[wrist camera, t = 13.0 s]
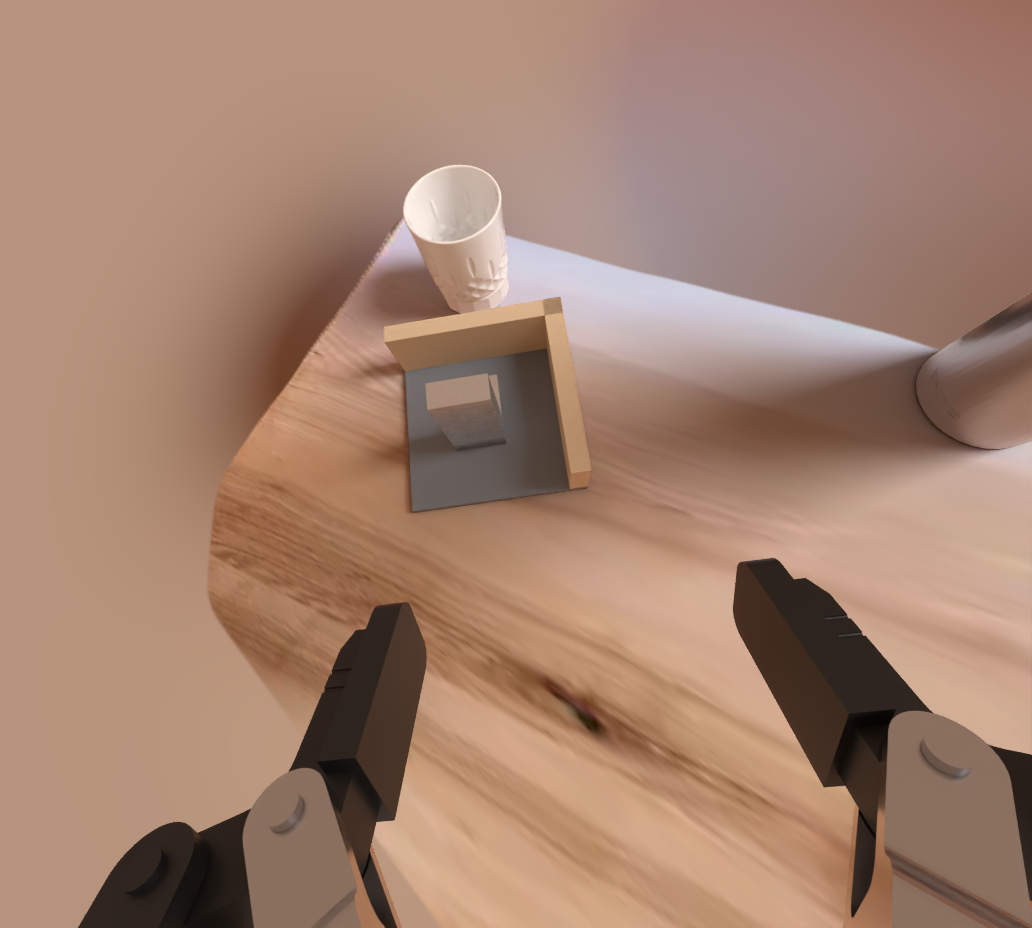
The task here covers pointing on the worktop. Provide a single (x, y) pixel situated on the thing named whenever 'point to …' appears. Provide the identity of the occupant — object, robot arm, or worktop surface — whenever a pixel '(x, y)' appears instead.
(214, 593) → the worktop surface
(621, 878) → the worktop surface
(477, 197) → the white cup
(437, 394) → the bracket
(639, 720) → the worktop surface
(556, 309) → the corner tray
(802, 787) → the worktop surface
